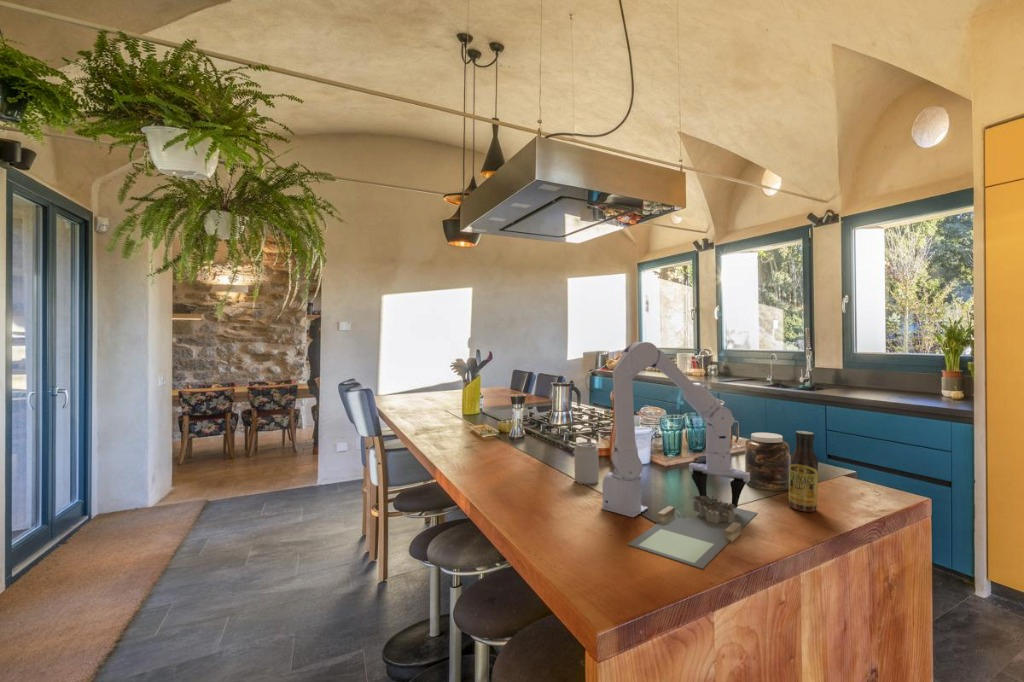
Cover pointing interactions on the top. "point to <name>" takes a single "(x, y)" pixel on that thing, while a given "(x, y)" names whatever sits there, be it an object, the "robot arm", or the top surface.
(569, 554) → the top surface
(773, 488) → the jar
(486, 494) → the top surface
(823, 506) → the top surface
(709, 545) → the lane mat
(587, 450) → the can
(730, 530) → the lane walls
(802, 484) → the sauce bottle
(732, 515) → the egg carton
